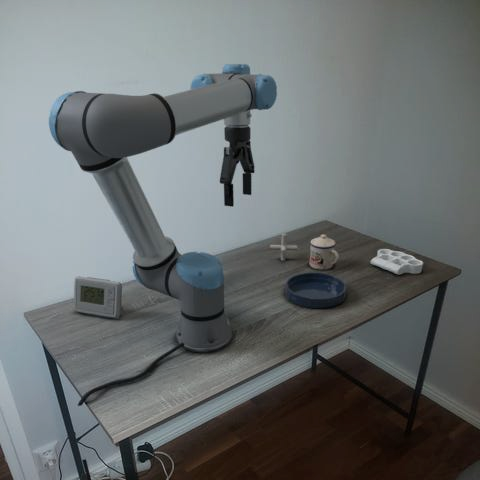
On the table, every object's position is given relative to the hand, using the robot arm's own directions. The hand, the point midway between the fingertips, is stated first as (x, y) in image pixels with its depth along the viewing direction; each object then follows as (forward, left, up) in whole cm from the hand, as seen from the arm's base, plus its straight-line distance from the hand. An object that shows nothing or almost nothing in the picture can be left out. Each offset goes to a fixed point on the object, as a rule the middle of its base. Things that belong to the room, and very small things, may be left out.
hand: (238, 200), depth 139 cm
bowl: (+2, -26, -29) cm, 39 cm away
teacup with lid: (+25, -23, -29) cm, 44 cm away
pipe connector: (+25, -7, -29) cm, 39 cm away
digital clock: (-35, +31, -29) cm, 55 cm away
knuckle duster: (+35, -47, -29) cm, 65 cm away
